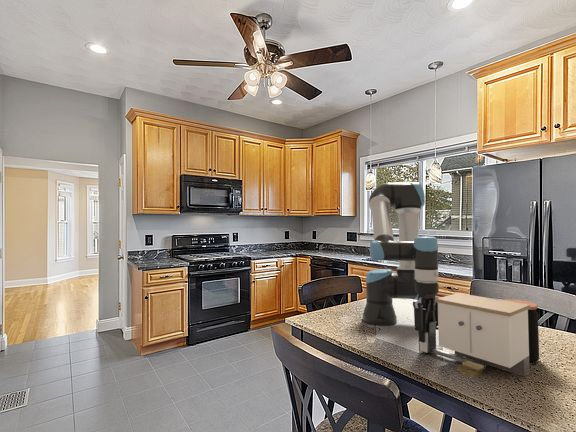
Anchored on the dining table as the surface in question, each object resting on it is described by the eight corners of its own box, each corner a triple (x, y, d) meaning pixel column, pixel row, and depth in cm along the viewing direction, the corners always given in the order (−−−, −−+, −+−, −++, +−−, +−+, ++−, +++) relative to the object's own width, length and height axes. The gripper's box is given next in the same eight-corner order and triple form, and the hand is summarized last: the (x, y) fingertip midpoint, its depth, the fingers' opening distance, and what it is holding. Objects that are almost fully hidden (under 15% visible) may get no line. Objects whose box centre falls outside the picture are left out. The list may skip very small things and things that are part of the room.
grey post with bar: (418, 349, 110) (418, 320, 110) (425, 347, 112) (424, 318, 112) (481, 370, 94) (481, 336, 94) (487, 367, 96) (486, 333, 96)
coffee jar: (492, 352, 110) (490, 299, 110) (520, 351, 111) (519, 298, 111) (516, 365, 99) (515, 307, 100) (548, 364, 100) (546, 306, 101)
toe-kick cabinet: (435, 361, 102) (434, 299, 103) (459, 350, 111) (458, 293, 112) (511, 388, 85) (509, 313, 86) (532, 372, 94) (530, 304, 95)
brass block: (457, 371, 96) (457, 366, 96) (464, 367, 99) (464, 362, 99) (474, 378, 92) (474, 372, 92) (482, 373, 95) (482, 368, 95)
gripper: (422, 285, 102) (424, 359, 101) (449, 280, 112) (451, 347, 111) (402, 282, 108) (403, 352, 107) (429, 277, 118) (430, 341, 117)
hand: (427, 349), depth 109 cm, fingers closed on grey post with bar, 4 cm apart
